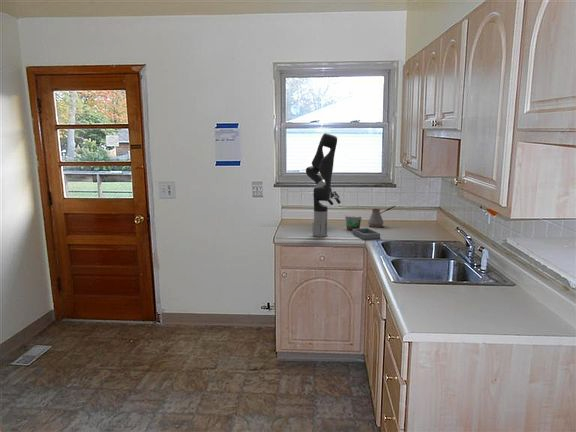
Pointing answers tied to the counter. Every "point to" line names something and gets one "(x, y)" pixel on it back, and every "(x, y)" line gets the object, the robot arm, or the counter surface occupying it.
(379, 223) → the coffee pot
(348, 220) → the food container
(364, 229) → the tray
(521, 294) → the counter surface
